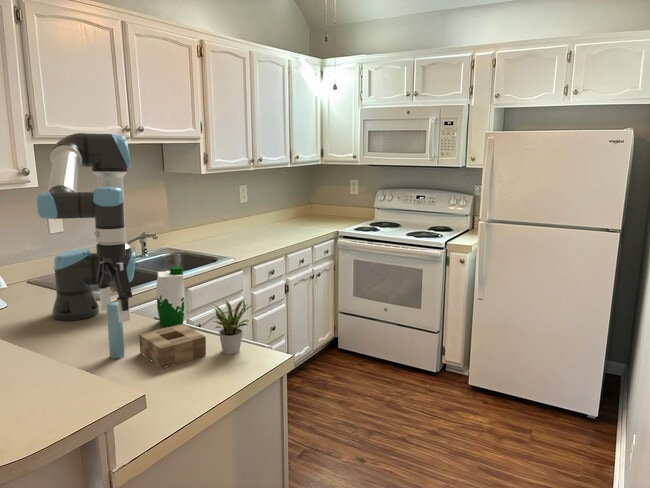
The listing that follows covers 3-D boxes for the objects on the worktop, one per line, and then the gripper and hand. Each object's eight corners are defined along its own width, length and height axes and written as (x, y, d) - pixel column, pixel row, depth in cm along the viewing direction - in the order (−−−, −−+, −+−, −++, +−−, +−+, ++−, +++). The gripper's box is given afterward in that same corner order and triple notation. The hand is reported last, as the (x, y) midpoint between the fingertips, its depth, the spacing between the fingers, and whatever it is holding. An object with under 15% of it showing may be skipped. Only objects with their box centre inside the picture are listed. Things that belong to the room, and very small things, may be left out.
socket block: (140, 353, 146) (139, 334, 145) (183, 341, 156) (182, 323, 155) (161, 368, 136) (160, 348, 135) (205, 355, 146) (205, 336, 145)
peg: (107, 356, 144) (104, 303, 141) (121, 352, 146) (118, 301, 143) (112, 360, 141) (109, 307, 138) (126, 356, 144) (124, 304, 141)
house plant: (258, 340, 159) (258, 292, 155) (259, 358, 145) (259, 305, 142) (213, 342, 156) (212, 292, 153) (209, 360, 143) (208, 306, 140)
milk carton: (185, 326, 170) (184, 270, 166) (158, 328, 166) (156, 271, 163) (183, 317, 178) (182, 264, 174) (157, 320, 174) (155, 265, 171)
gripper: (81, 237, 144) (86, 307, 147) (114, 250, 126) (118, 329, 129) (108, 235, 149) (111, 302, 152) (142, 247, 131) (146, 323, 135)
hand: (114, 315), depth 141 cm, fingers open, 13 cm apart
